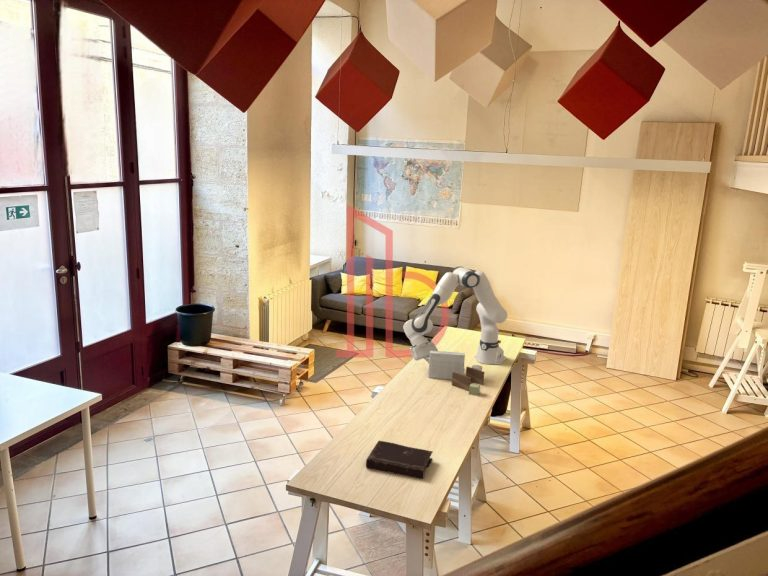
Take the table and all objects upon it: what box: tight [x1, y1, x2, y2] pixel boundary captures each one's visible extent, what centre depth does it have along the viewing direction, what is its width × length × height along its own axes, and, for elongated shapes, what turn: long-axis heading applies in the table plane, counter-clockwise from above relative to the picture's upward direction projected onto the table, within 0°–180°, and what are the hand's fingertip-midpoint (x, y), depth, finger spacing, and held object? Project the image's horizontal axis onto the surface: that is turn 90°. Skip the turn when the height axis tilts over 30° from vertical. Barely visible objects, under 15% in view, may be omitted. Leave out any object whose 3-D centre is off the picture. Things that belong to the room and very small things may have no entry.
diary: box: [365, 440, 434, 480], centre depth 259 cm, size 19×25×5 cm
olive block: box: [468, 382, 481, 397], centre depth 339 cm, size 5×5×5 cm
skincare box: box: [428, 350, 466, 380], centre depth 361 cm, size 21×6×16 cm, turn 84°
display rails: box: [451, 366, 485, 392], centre depth 351 cm, size 15×12×8 cm
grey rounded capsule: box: [471, 364, 483, 371], centre depth 362 cm, size 6×6×8 cm
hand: (431, 362), depth 369 cm, fingers closed
